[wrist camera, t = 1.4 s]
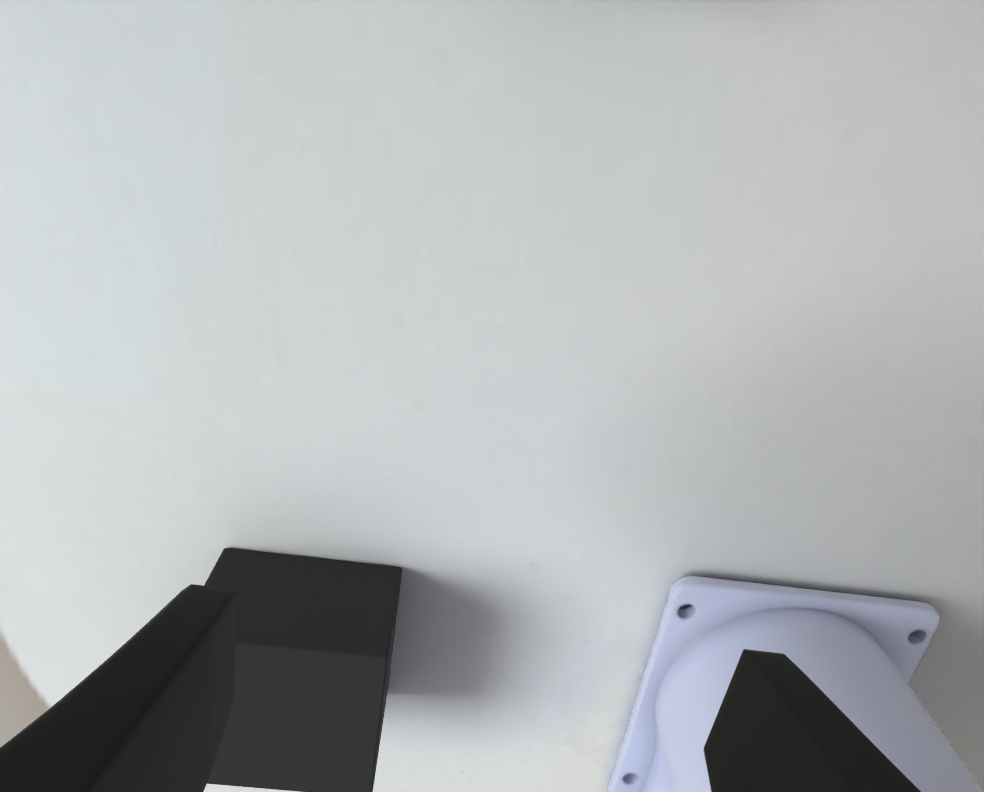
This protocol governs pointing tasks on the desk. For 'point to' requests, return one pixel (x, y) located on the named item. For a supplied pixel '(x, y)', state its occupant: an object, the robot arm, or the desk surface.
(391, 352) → the desk surface
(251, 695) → the small block
